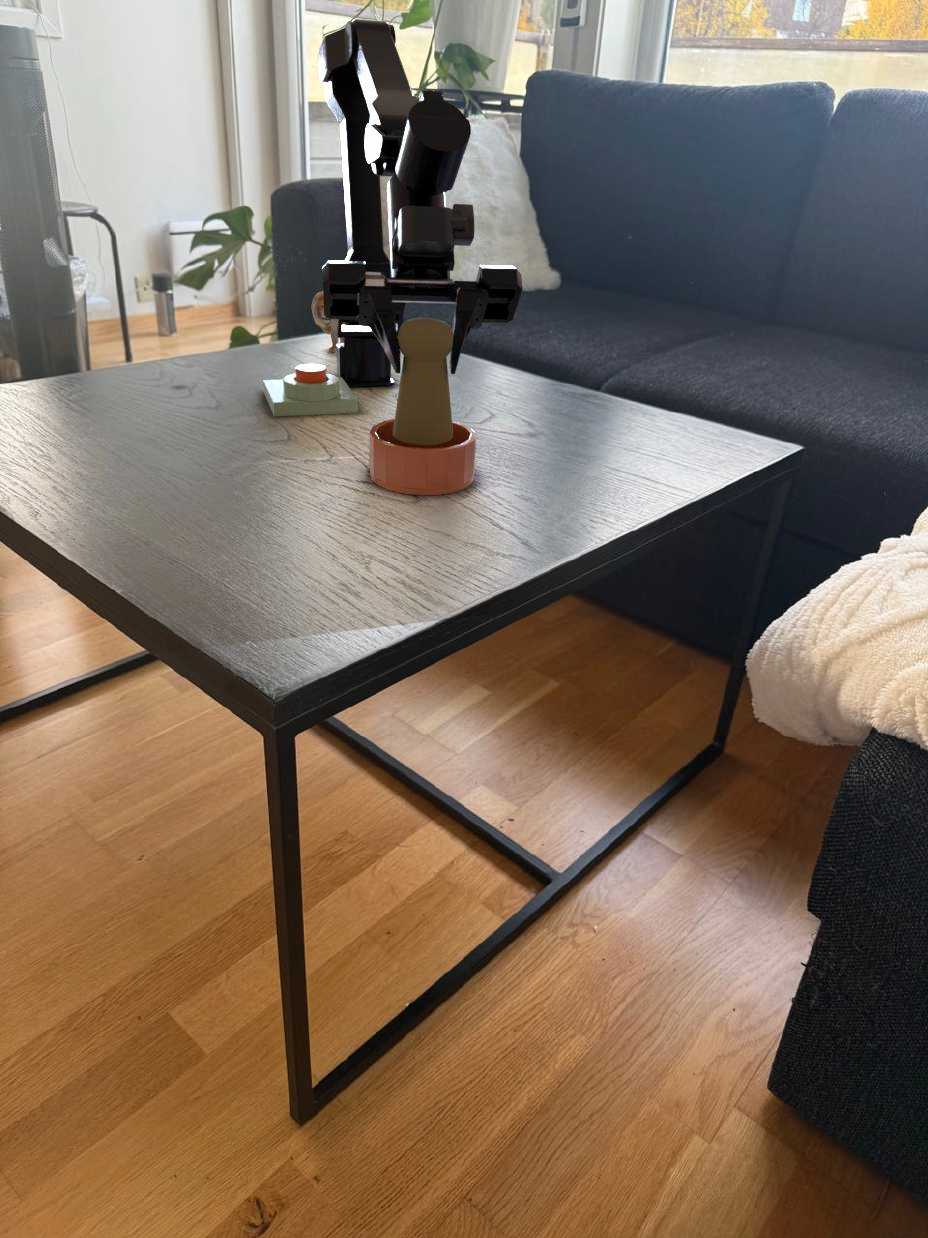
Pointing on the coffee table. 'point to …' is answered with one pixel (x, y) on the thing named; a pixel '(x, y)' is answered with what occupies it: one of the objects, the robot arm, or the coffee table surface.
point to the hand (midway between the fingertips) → (425, 371)
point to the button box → (309, 396)
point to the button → (311, 373)
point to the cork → (424, 383)
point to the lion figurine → (323, 318)
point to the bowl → (422, 461)
